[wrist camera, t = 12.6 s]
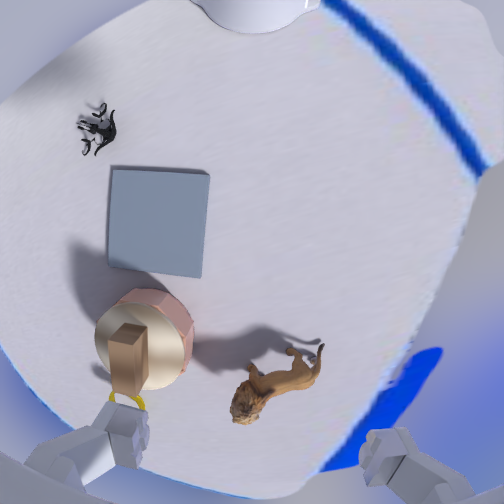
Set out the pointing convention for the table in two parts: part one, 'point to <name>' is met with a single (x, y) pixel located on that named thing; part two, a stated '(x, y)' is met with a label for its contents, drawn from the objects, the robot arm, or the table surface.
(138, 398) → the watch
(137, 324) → the lid
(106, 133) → the creature
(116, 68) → the table surface
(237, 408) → the lion figurine
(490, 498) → the robot arm
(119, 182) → the mat
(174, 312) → the octagonal planter
